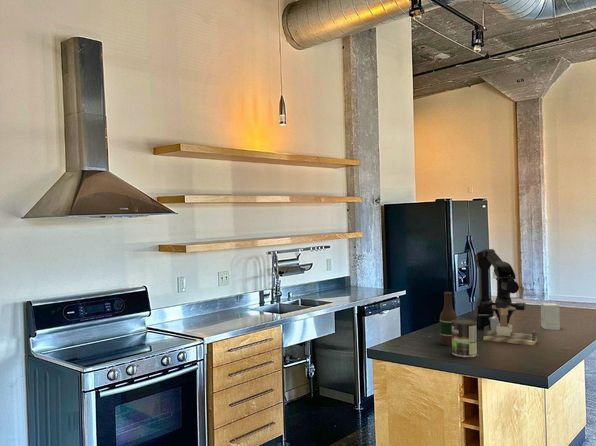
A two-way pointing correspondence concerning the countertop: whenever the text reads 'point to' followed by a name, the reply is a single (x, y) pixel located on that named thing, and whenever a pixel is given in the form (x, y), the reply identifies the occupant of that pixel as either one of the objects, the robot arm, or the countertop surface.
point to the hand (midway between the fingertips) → (504, 323)
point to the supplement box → (550, 316)
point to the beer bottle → (447, 320)
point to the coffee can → (464, 338)
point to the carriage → (504, 326)
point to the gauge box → (494, 323)
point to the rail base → (510, 337)
